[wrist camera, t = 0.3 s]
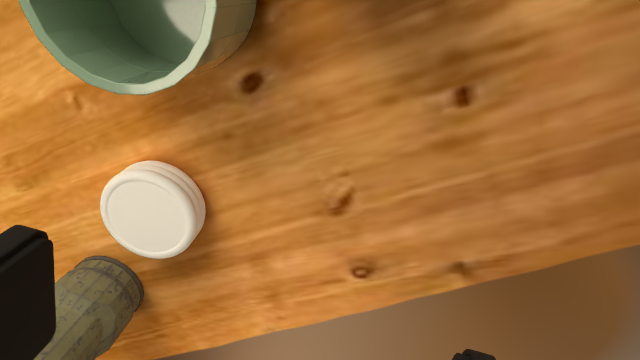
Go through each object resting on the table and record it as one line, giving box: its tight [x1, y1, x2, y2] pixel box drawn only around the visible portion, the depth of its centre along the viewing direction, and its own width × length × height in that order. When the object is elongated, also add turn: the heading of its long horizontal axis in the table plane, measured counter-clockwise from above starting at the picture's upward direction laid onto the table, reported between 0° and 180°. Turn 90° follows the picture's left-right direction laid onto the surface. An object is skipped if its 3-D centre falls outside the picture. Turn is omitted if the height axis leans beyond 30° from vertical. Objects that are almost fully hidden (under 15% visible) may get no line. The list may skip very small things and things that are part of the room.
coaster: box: [100, 161, 206, 259], centre depth 44 cm, size 10×10×4 cm
